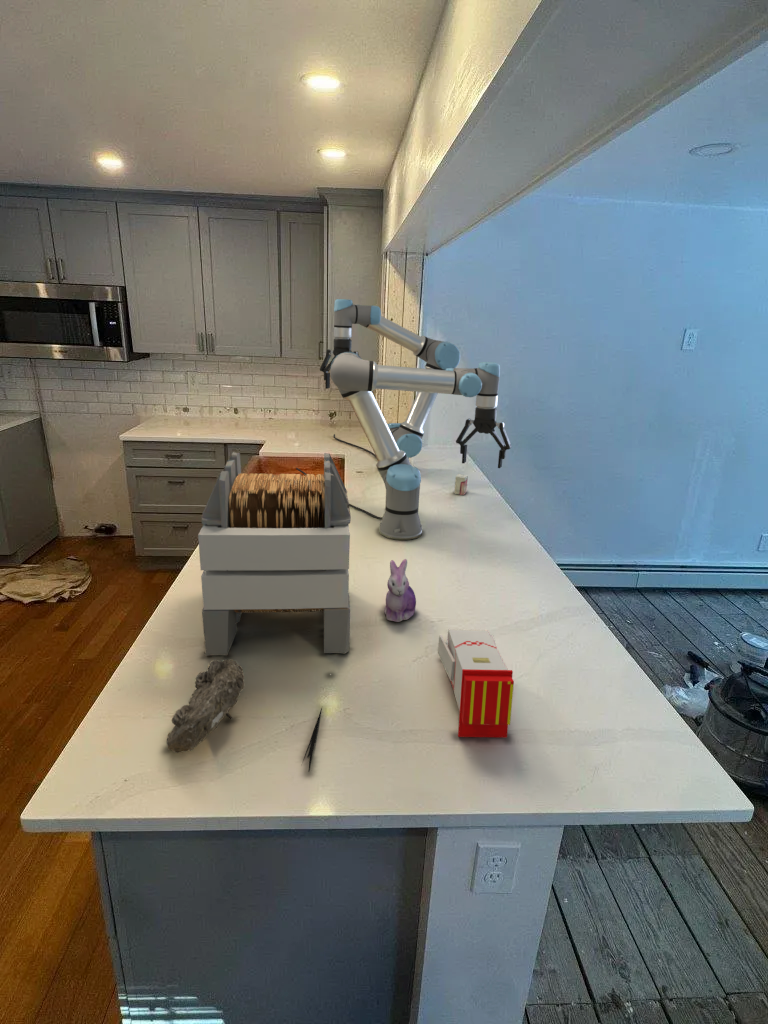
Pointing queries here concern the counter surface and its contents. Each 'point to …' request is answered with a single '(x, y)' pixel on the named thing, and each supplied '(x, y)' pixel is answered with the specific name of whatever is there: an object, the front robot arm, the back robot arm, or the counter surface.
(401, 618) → the figurine
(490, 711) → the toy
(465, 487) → the small box
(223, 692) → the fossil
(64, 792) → the counter surface
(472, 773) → the counter surface
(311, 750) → the feather
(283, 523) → the record storage crate
